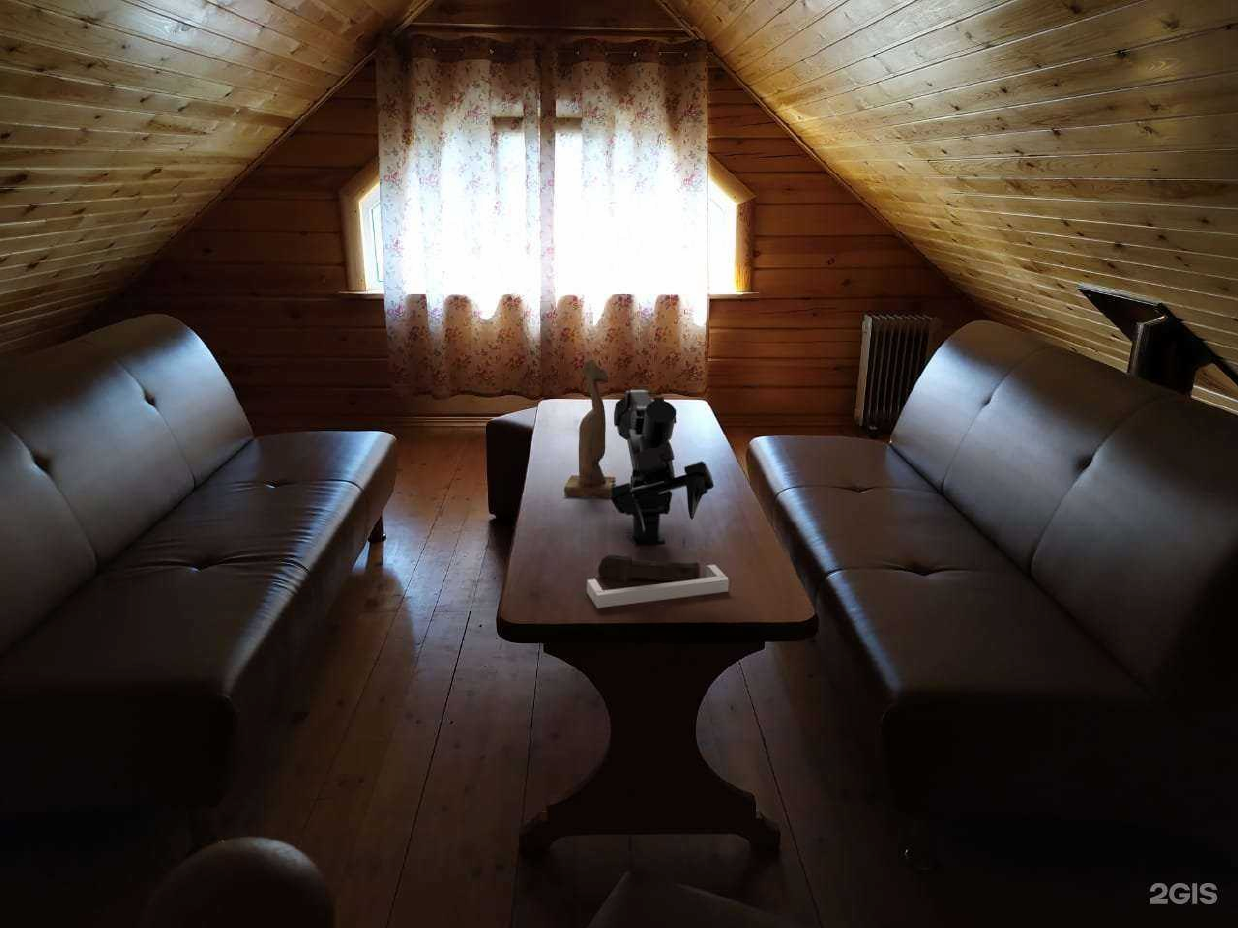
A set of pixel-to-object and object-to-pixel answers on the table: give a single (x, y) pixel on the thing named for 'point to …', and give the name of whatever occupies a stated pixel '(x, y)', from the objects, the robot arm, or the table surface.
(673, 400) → the table surface
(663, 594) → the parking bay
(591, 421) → the bird sculpture
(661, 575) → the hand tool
